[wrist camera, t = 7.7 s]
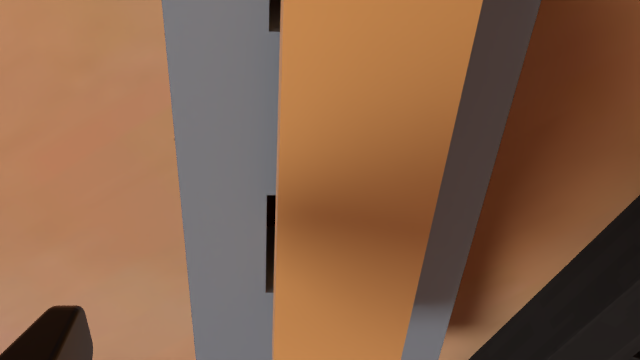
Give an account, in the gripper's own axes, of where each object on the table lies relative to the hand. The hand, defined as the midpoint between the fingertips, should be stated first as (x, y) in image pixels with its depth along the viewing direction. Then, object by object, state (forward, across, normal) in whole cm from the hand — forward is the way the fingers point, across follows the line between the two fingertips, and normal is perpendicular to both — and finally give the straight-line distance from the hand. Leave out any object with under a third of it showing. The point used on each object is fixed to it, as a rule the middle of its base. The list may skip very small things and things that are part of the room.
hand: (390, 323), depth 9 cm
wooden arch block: (+9, 0, 0) cm, 9 cm away
